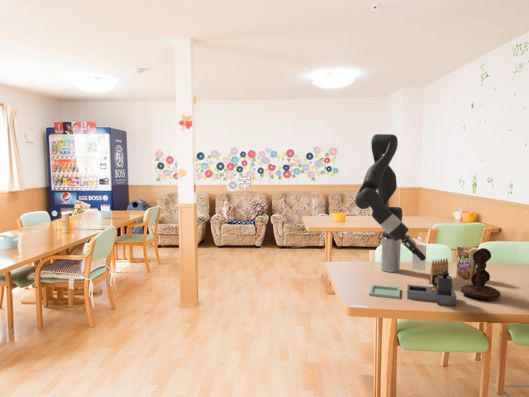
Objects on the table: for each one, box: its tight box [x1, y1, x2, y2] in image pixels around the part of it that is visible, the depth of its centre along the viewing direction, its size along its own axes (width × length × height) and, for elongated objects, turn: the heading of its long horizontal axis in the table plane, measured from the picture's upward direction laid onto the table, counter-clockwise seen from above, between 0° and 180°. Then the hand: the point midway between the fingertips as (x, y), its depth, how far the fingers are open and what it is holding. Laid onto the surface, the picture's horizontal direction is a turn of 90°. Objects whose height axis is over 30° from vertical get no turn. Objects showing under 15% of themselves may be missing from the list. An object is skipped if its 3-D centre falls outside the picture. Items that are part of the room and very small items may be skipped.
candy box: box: [455, 245, 479, 283], centre depth 193 cm, size 9×4×15 cm, turn 17°
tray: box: [368, 284, 401, 300], centre depth 170 cm, size 12×12×2 cm
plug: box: [411, 243, 427, 271], centre depth 164 cm, size 4×5×10 cm
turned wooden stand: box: [460, 247, 501, 302], centre depth 168 cm, size 15×15×20 cm
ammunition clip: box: [428, 257, 450, 287], centre depth 184 cm, size 11×2×12 cm, turn 115°
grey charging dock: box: [406, 269, 458, 307], centre depth 163 cm, size 10×18×13 cm, turn 71°
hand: (423, 258), depth 163 cm, fingers closed on plug, 4 cm apart
